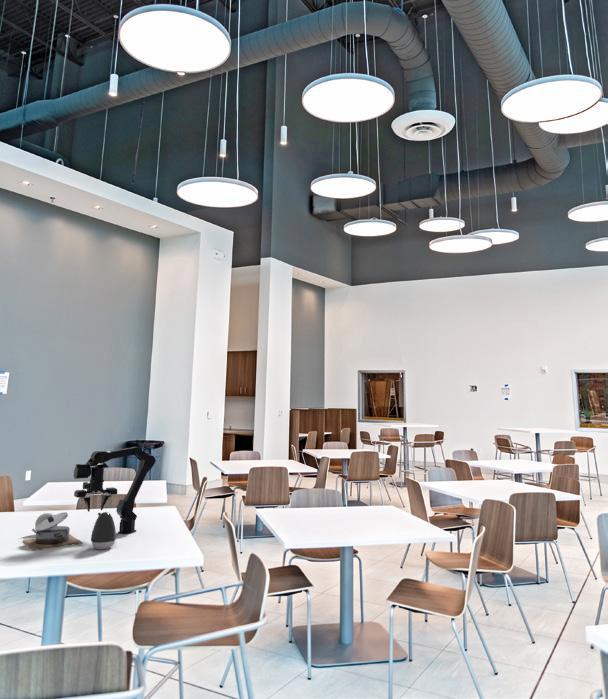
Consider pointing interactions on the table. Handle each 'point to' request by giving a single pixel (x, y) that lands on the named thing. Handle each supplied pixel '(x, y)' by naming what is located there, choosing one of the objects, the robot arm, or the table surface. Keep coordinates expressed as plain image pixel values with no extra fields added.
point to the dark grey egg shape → (103, 531)
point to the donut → (43, 518)
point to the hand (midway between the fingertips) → (94, 510)
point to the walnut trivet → (35, 546)
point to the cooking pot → (53, 535)
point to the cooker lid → (50, 522)
